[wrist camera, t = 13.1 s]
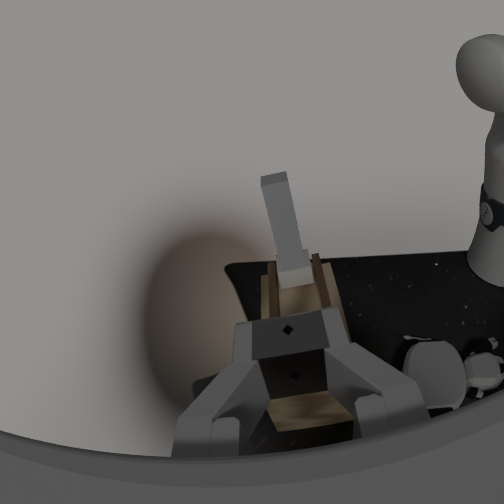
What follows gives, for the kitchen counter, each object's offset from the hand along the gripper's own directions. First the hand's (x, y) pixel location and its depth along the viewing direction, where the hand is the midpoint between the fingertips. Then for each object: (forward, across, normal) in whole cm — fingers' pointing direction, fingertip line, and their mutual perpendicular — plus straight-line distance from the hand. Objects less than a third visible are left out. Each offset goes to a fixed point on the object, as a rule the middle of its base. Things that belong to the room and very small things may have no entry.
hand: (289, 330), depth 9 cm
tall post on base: (+30, +1, -18) cm, 35 cm away
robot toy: (+13, +19, -29) cm, 37 cm away
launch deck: (+23, +1, -28) cm, 36 cm away
